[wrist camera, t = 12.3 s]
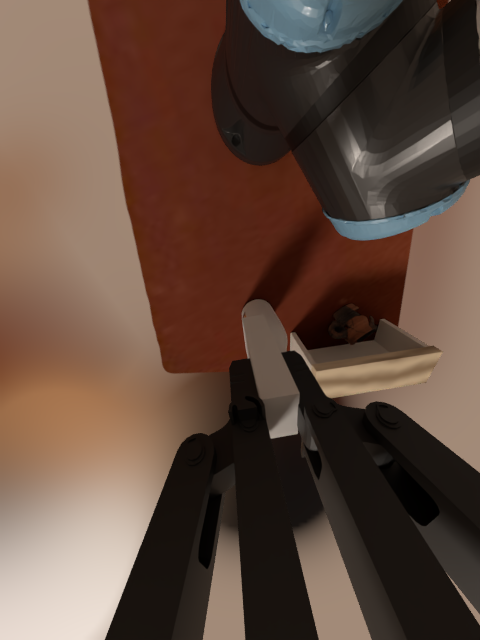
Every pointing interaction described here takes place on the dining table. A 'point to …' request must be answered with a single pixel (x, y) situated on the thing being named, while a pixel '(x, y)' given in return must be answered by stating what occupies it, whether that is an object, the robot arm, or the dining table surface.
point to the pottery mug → (351, 325)
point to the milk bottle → (267, 320)
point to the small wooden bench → (370, 362)
